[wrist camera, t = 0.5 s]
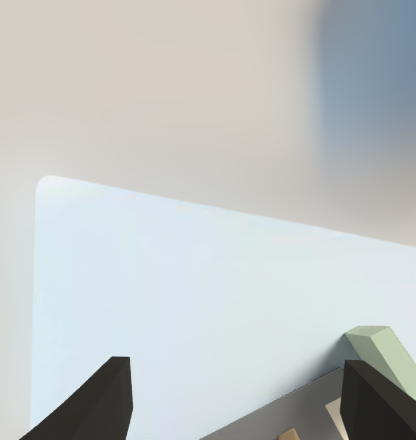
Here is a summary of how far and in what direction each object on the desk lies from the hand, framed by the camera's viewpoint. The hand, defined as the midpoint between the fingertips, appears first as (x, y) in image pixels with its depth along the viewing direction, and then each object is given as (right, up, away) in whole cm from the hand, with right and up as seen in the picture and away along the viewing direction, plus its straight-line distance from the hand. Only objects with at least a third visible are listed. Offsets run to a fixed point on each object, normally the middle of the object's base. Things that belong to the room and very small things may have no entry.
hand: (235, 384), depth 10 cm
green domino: (+15, -8, +21) cm, 27 cm away
